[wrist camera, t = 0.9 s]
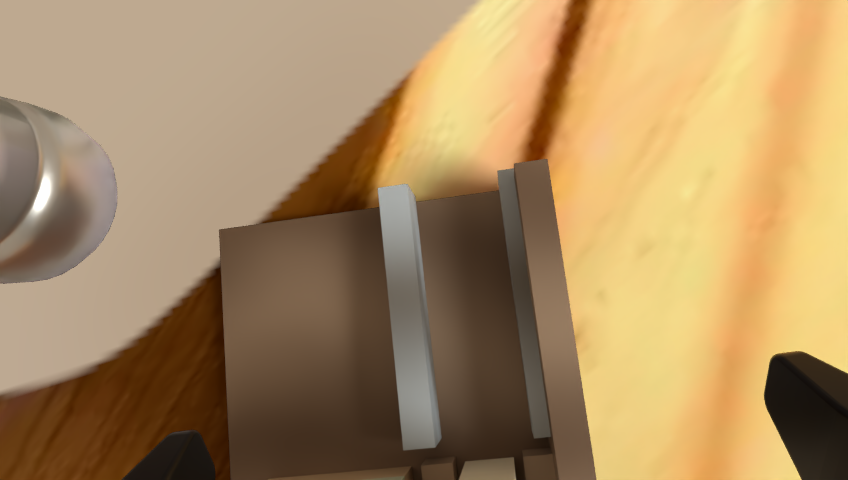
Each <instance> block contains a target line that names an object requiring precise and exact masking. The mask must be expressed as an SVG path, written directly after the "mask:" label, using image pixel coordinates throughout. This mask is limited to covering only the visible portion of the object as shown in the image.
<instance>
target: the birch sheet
mask: <svg viewBox="0 0 848 480" xmlns="http://www.w3.org/2000/svg"><path fill="white" fill-rule="evenodd" d="M459 480H517V479H516V471H515V463H514V457H510V458H499V459H487V460H476V461H465V464H464V467H463V469H462V472H461V475H460V478H459Z"/></svg>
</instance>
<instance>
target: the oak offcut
mask: <svg viewBox="0 0 848 480" xmlns="http://www.w3.org/2000/svg"><path fill="white" fill-rule="evenodd" d="M397 476H404V477H405V480H413V472H412V466H408V467H397V468H386V469H374V470H363V471H352V472H340V473H329V474H318V475H306V476H295V477H284V478H272V479H268V480H363V479H374V478H386V477H397Z"/></svg>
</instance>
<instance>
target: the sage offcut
mask: <svg viewBox="0 0 848 480" xmlns="http://www.w3.org/2000/svg"><path fill="white" fill-rule="evenodd" d="M363 480H405V477H404V476H397V477H386V478H374V479H363Z"/></svg>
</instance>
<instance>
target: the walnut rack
mask: <svg viewBox="0 0 848 480" xmlns="http://www.w3.org/2000/svg"><path fill="white" fill-rule="evenodd" d="M498 186H499V191H492V192H484V193H477V194H470V195H463V196H456V197H449V198H442V199H434V200H427V201H420V202H416V198H415V195H414V194H413V192H412V191H411V189H410V187H409V186H408V184H402V185H395V186H388V187H381V188H378V196H379V206H380V207H377V208H370V209H363V210H356V211H349V212H342V213H334V214H327V215H320V216H313V217H306V218H299V219H292V220H284V221H277V222H270V223H263V224H256V225H249V226H242V227H234V228H228V229H221V230H219V238H220V260H221V281H222V303H223V324H224V346H225V368H226V389H227V411H228V433H229V454H230V476H231V480H268V479H272V478H284V477H295V476H306V475H318V474H329V473H340V472H352V471H363V470H374V469H386V468H397V467H408V466H412V472H413V480H459V478H460V475H461V472H462V469H463V467H464V464H465V461H476V460H487V459H499V458H510V457H514V463H515V471H516V479H517V480H596V474H595V467H594V461H593V454H592V447H591V441H590V434H589V428H588V421H587V415H586V408H585V402H584V395H583V389H582V382H581V376H580V369H579V363H578V356H577V349H576V343H575V336H574V330H573V323H572V317H571V310H570V304H569V297H568V291H567V284H566V278H565V271H564V265H563V258H562V252H561V245H560V238H559V232H558V225H557V219H556V212H555V206H554V199H553V193H552V186H551V180H550V173H549V167H548V160H547V159H543V160H536V161H529V162H522V163H515V164H514V168H513V169H506V170H499V171H498Z"/></svg>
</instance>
